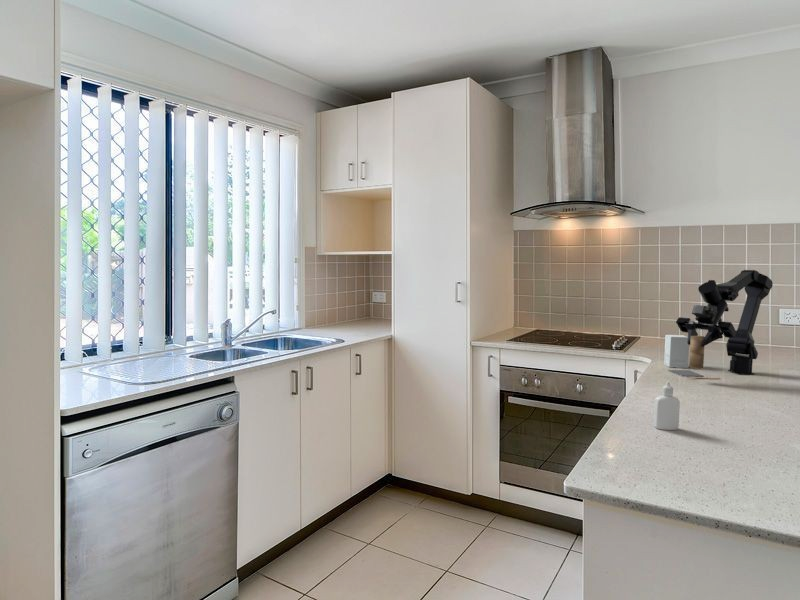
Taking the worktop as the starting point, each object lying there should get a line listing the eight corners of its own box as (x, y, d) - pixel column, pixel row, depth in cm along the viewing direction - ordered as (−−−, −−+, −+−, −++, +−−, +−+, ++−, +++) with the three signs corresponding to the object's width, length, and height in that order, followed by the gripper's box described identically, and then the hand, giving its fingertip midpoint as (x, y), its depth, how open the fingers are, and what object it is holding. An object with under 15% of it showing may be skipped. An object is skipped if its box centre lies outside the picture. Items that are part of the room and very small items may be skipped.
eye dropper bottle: (654, 424, 136) (656, 378, 135) (678, 427, 133) (681, 381, 132) (652, 428, 132) (655, 382, 132) (677, 432, 130) (680, 385, 129)
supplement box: (688, 368, 210) (690, 337, 209) (668, 367, 211) (670, 336, 210) (682, 365, 217) (684, 334, 216) (663, 364, 219) (664, 334, 218)
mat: (689, 371, 204) (689, 370, 204) (703, 376, 194) (703, 375, 194) (668, 371, 204) (668, 369, 204) (682, 376, 194) (682, 375, 194)
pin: (699, 366, 187) (700, 335, 186) (705, 368, 183) (707, 337, 182) (686, 365, 187) (688, 335, 187) (692, 368, 183) (694, 337, 182)
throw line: (718, 378, 192) (718, 377, 192) (720, 379, 191) (720, 378, 191) (685, 378, 192) (685, 377, 192) (687, 378, 191) (687, 377, 191)
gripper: (679, 295, 193) (661, 327, 188) (733, 298, 177) (714, 333, 172) (690, 315, 198) (672, 346, 193) (744, 320, 182) (725, 354, 177)
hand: (695, 344), depth 184 cm, fingers closed on pin, 4 cm apart
